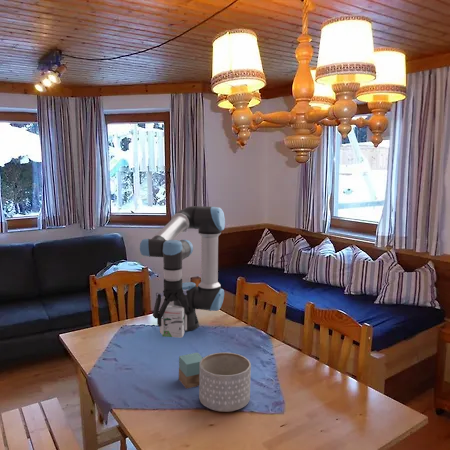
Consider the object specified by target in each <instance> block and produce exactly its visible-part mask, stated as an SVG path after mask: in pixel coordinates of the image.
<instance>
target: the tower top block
mask: <svg viewBox="0 0 450 450" xmlns="http://www.w3.org/2000/svg"><path fill="white" fill-rule="evenodd" d="M202 358H204V357H203V356H202V355H201V354H200V353H199V352H191V353H188V354H184V355H179V357H178V369H179V368H180V370H181V371H182V372H183V373H184V374H185V376H186V377H188V376H193V375H197V374H199V363H200V361H201V359H202Z"/></svg>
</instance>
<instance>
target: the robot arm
mask: <svg viewBox="0 0 450 450" xmlns="http://www.w3.org/2000/svg"><path fill="white" fill-rule="evenodd" d="M225 225H226V218H225V212H224V211H223V209H222V208H221V207H220V206H218V207H217V206H205V205H204V206H199V205H195V206H194V205H192V206H188V207H185V208H183V209H180V210H178V211H177V212H176V213H174V214H173V215H172V217H171V219H170V221H168V223H166V224H165V225H164V227H162V228H161V229H160V230H159V231H158V232H157V233H156V234H155V235H154V236H153V237H152V238H143V239H141V241H140V244H139V253H140V254H141V255H142V256H144V257H149V258H151V257H152V258H162V259H163V261H162V262H163V290H162V292H156V293H155V296H156V297H155V303H154V308H153V311H152V317H153V318H154V319H156V320H157V322H156V323H157V326H158V327H159V333H160V334H161V335H162V334H164V326H163V318H162V316H163V314H164V312H165V310H166V308H167V306H168V305H170V302H171V303H172V304H173V306H182V307H184V332H190V331H194V330H197V329H198V328H199V327H200V326H199V324H200V323H199V318H198V315H197V312H196V310H200V311H201V310H203V311H209V312H211V311H214V312H218V311H219V310H221V308H222V306H223V303H224V298H225V290H224V289H223V288H221V283H220V282H219V280H218V279H219V272H218V271H219V236H220V235H221V234H222V231H224V230H225V228H226V227H225ZM189 229H194V230H198V231H197V232H198V234H199V236H200V237H201V238H200V239H201V242H200V243H201V245H200V246H201V247H200V249H201V252H200V256H201V262H200V263H201V264H200V267H201V269H200V271H201V272H200V278H201V279H200V282H199V283H198V285H197V284H196V283H195V282H192V281H190V282H189V281H188V282H186V281H185V282H183V260H185V259H187V258H189V257H190V255H191V254H192V253H193V251H194V246H193V243H192V242H191V241H190V240H188V239H181V240H178V239H176V238H177V237H178V236H179V235H180V234H181V233H182V232H186V230H189ZM163 297H164V299H163ZM162 299H163V302H162ZM161 303H162V304H161Z"/></svg>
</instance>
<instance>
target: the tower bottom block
mask: <svg viewBox="0 0 450 450" xmlns="http://www.w3.org/2000/svg"><path fill="white" fill-rule="evenodd" d="M178 381H179V382H180V383H181V384H182V385H183V387H184V388H185V389H191V388H195V387H199V374H197V375H193V376H188V377H186V376H185V374H184V373H183V372H182V371H181V370H180V368H179V367H178Z"/></svg>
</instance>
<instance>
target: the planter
mask: <svg viewBox="0 0 450 450" xmlns="http://www.w3.org/2000/svg"><path fill="white" fill-rule="evenodd" d="M251 370H252V364H251V361H250V360H249V359H248V358H247V357H245V356H244V355H241V354H239V353H234V352H226V351H224V352H216V353H215V352H214V353H211V354H207V355H206V356H204V357H203V358H202V359H201V361H200V363H199V386H198V389H199V391H198V399H199V401H200V403H201V404H202V405H203V406H204V407H205V408H207V409H210V410H212V411H215V412H219V413H221V412H222V413H229V412H235V411H237V410H240V409H243V408H244V407H246V406H247V405H248V404H249V403H250V400H251V378H252V377H251V376H252V375H251V373H252V372H251Z"/></svg>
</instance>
